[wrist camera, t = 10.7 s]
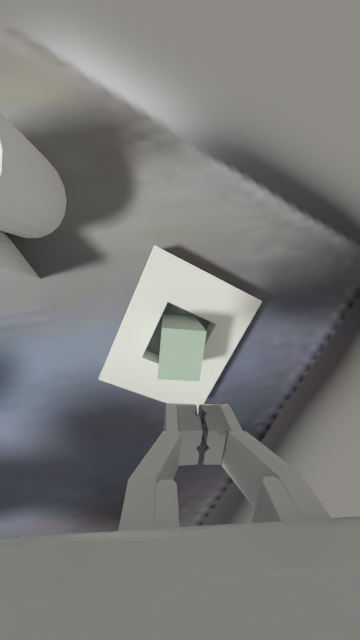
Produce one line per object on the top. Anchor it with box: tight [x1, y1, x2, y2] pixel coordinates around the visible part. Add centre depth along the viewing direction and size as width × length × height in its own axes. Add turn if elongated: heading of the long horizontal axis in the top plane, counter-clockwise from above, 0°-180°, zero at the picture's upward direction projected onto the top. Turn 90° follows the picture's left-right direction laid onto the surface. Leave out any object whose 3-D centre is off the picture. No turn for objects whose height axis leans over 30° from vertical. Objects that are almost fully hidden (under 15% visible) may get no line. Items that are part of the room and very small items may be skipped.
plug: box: [157, 314, 207, 381], centre depth 18 cm, size 5×4×6 cm
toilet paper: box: [0, 112, 67, 279], centre depth 14 cm, size 8×11×7 cm
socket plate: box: [98, 245, 262, 414], centre depth 20 cm, size 16×13×2 cm
